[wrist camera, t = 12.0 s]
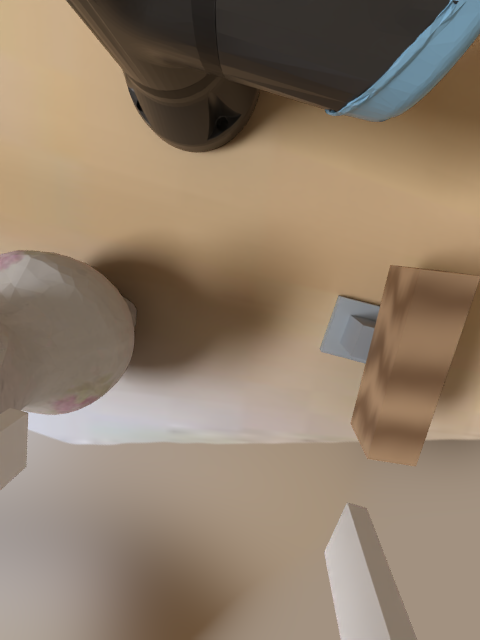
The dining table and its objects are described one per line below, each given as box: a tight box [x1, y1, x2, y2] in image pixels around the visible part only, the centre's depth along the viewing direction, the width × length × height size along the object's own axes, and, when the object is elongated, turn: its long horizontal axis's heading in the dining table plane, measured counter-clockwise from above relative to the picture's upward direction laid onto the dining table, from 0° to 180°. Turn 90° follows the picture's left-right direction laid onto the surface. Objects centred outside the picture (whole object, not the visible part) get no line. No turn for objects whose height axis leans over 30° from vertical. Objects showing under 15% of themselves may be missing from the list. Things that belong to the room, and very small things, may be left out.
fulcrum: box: [320, 296, 380, 363], centre depth 35 cm, size 8×14×6 cm, turn 76°
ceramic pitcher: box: [0, 251, 137, 415], centre depth 30 cm, size 22×20×25 cm
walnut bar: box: [351, 265, 480, 466], centre depth 29 cm, size 20×5×6 cm, turn 174°
